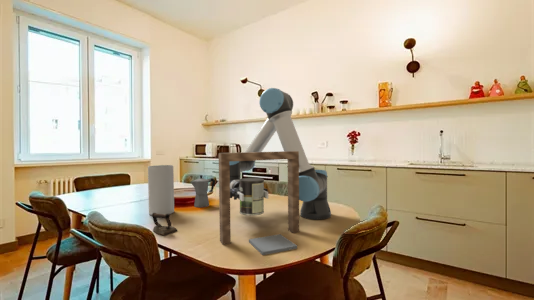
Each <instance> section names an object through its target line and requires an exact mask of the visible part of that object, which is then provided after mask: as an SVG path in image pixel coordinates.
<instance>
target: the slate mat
mask: <svg viewBox="0 0 534 300" xmlns="http://www.w3.org/2000/svg"><path fill="white" fill-rule="evenodd" d="M248 243H249V244H251V246H252V247H253V248H254V249H255V250H257V251H258V252H259V254H260V255H262V256H266V255H270V254H271V255H272V254H275V253H281V252H286V251H292V250H296V249H298V245H297V244H295V243H294V242H293V241H291V240H290V239H288V238H287V237H285V236H284V235H282V234H281V233H280V234H279V233H278V234H273V235H267V236H261V237H255V238H250V239H248Z"/></svg>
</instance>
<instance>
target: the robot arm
mask: <svg viewBox="0 0 534 300" xmlns="http://www.w3.org/2000/svg"><path fill="white" fill-rule="evenodd" d="M259 107H260V109H261V110H262V111H263V112H264V113H266V116H267V118H266V120H265V121H264V123H263V124H262V126H261V127H260V129H259V131H258V132H257V133H256V135H255V137H254V138H253V139H252V141H251V143H250V144H249V145H248V146H247V148H246V150H244V152H264V149H265V148H266V146H267V145H268V143H269V142H270V141H271V139H272V138H273V136H274V135H275V134H276V133H277V137H278V139H279V141H280V144H281V146H282V149H283V151H299V201H302V205H301V208H300V209H299V216H301V217H302V218H304V219H309V220H325V219H330V218H331V217H332V210H331V208H330V205H329V202H328V172H327V170H325V169H315V167H314V166H313V165H312V164H310V162H309V161H308V157H307V154H306V152H305V150H304V148H303V145H302V142H301V140H300V137H299V135H298V132H297V130H296V129H297V128H296V126H295V125H294V122H293V119H292V117H291V116H292V115H293V108H294V101H293V98H292V96H291V95H290V94H289V93H287V92H286V91H283V90H281V89H279V88H275V87H271V88H267V89H266V90H265V89H264V91H263V92H262V94H260V97H259ZM286 160H287V161H288V159H286ZM256 161H257V160H255V161H229V164H230V199H232V198H233V200H234V201H235V200H237V199H238V200H239V201H240V200H241V201H244V194H242V193H240V181H239V179H242V178H241V177H242V175H241V173H242V172H248V171H251V170H253V169H254V167H255V166H256V165H255V164H256ZM264 199H269V191H268V188H265V187H264Z"/></svg>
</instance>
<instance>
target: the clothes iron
mask: <svg viewBox="0 0 534 300" xmlns="http://www.w3.org/2000/svg"><path fill="white" fill-rule="evenodd" d="M170 215H171V214H157V213H153V214H152V215H151V217H152V220H153V223H154V227H153V228H152V232H153V233H154V234H156V235H158V236H162V237H166V236H168V235H171V234H173V233H176V232H178V229H177V228H176V226H172V221H171V219H170V218H171V217H170ZM158 219H165V220H166V224H167V225H162V224H161V223H159V221H158Z"/></svg>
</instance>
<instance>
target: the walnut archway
mask: <svg viewBox="0 0 534 300" xmlns="http://www.w3.org/2000/svg"><path fill="white" fill-rule="evenodd" d="M287 159H288V160H287ZM255 160H256V161H274V160H275V161H277V160H287V220H288V221H287V226H288V227H287V229H288V231H289V232H290V233H292V234H296V233H300V200H299V151H284V150H283V151H282V150H281V151H262V152H245V151H243V152H219V153H218V198H219V199H218V200H219V201H218V202H219V203H218V205H219V207H218V208H219V209H218V210H219V213H218V214H219V242H220V243H221V245H223V246H224V245H229V244H232V242H231V235H232V233H231V198H230V164H229V161H255ZM256 161H255V162H256Z"/></svg>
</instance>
